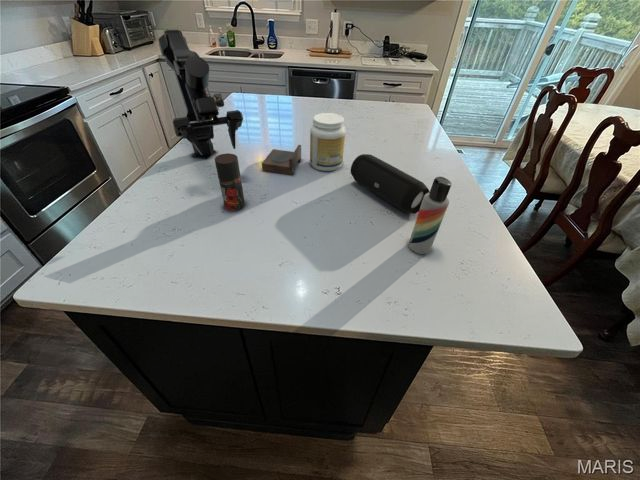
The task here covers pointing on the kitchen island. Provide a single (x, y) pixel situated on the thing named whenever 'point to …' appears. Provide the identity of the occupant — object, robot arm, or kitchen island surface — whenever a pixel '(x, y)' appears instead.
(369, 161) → the portable speaker
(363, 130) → the kitchen island surface
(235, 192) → the deodorant
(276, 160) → the brown l-shaped stand
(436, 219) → the lotion bottle
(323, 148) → the supplement tub
